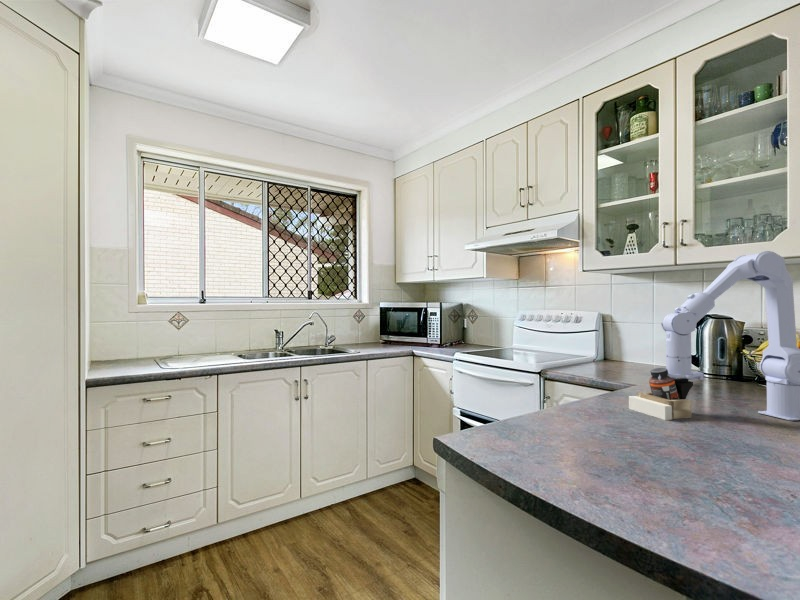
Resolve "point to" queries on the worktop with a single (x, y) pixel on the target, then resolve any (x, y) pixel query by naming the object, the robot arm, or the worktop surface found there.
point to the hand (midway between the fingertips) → (679, 406)
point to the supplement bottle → (663, 384)
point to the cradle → (678, 406)
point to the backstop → (650, 407)
